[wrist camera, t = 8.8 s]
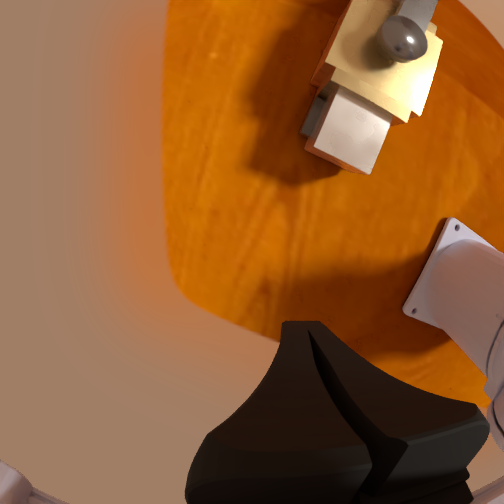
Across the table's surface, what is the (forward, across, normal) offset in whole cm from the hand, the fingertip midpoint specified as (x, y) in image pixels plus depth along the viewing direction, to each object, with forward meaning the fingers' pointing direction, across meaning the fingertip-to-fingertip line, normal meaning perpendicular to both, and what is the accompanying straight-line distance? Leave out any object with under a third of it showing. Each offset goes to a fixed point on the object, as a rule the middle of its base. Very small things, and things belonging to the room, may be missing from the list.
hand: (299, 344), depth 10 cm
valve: (+9, -5, -13) cm, 17 cm away
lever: (+5, -6, -16) cm, 18 cm away
